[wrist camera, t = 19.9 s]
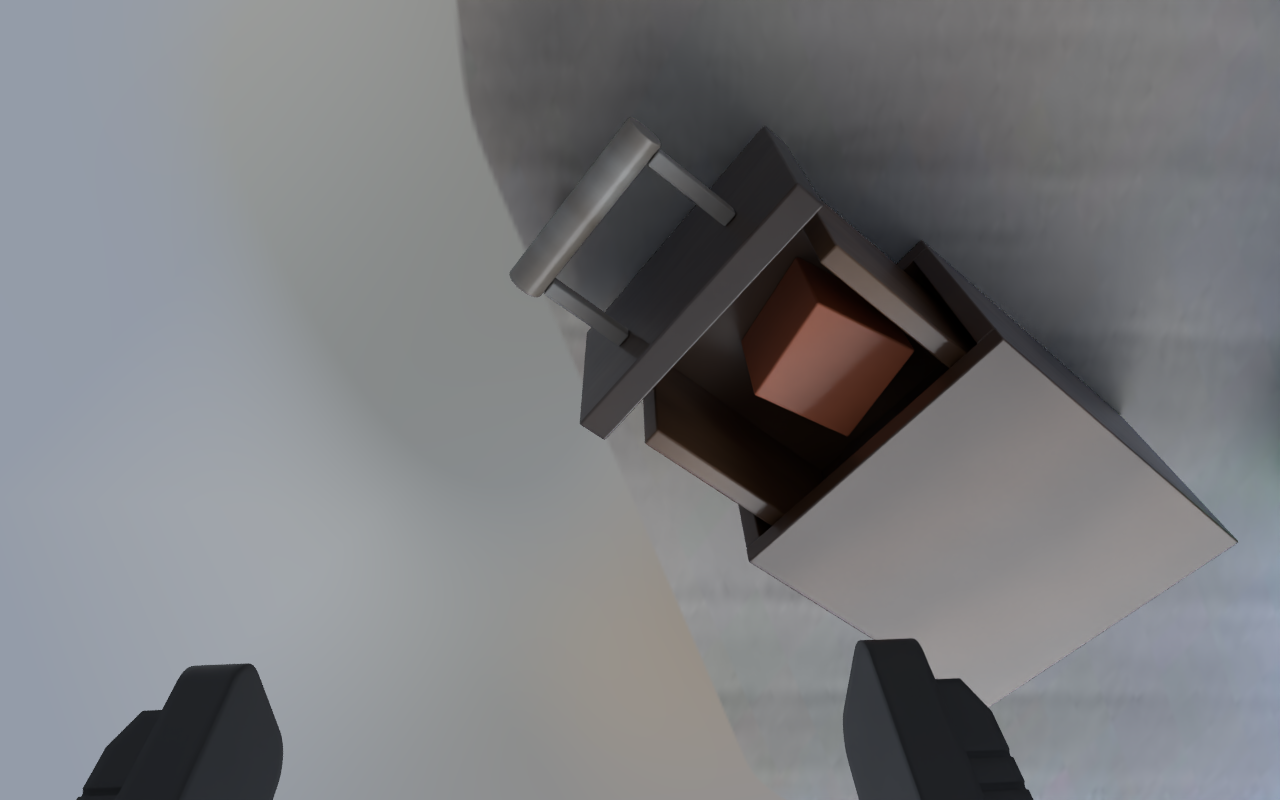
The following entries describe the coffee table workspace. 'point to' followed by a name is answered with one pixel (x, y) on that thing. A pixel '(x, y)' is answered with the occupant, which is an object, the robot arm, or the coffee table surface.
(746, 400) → the drawer
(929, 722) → the robot arm
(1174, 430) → the coffee table surface
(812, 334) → the block
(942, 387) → the cabinet
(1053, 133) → the coffee table surface
